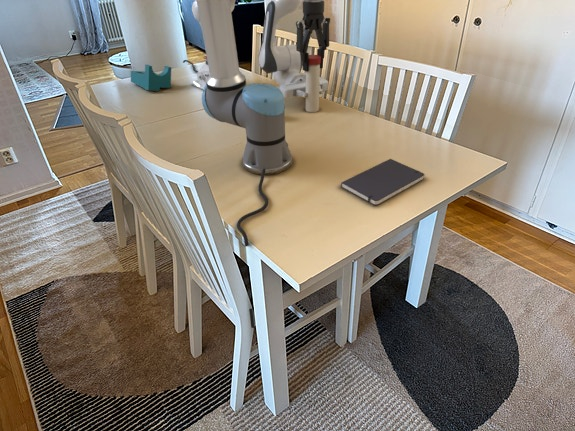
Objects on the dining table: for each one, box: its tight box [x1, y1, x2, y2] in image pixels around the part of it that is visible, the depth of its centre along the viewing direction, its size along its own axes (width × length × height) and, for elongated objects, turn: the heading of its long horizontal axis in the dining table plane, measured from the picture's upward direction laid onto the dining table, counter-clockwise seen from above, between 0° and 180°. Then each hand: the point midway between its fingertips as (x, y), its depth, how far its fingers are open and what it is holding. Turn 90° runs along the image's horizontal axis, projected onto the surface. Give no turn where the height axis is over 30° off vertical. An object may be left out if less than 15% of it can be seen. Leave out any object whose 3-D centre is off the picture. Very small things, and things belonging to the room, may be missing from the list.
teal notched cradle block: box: [130, 64, 172, 92], centre depth 188 cm, size 18×11×10 cm, turn 43°
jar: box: [304, 64, 321, 113], centre depth 156 cm, size 5×5×20 cm
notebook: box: [340, 158, 425, 206], centre depth 114 cm, size 13×2×21 cm
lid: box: [309, 54, 321, 65], centre depth 150 cm, size 6×6×2 cm
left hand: (313, 93), depth 157 cm, fingers closed on jar, 5 cm apart
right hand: (312, 68), depth 152 cm, fingers closed on lid, 6 cm apart
